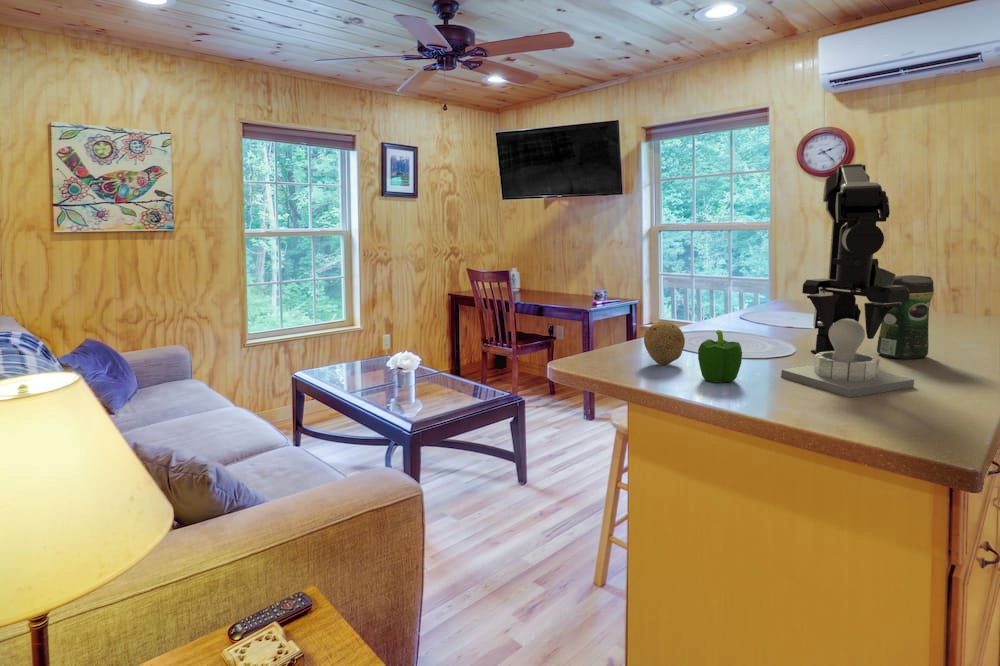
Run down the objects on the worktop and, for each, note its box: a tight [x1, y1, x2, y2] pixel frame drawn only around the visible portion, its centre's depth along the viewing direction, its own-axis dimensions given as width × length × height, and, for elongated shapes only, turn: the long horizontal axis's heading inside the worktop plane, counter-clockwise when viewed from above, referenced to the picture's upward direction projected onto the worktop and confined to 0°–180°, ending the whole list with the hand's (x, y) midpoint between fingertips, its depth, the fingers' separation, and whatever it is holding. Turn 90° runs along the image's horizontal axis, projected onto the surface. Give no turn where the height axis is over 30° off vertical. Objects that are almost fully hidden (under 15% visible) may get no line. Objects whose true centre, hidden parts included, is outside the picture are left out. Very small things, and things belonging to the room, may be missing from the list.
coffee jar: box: [876, 274, 934, 360], centre depth 135 cm, size 10×8×19 cm
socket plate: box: [780, 364, 915, 398], centre depth 116 cm, size 16×16×2 cm
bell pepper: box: [697, 329, 743, 383], centre depth 119 cm, size 8×8×10 cm
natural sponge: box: [643, 320, 686, 366], centre depth 133 cm, size 9×9×10 cm
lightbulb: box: [829, 319, 866, 362], centre depth 116 cm, size 6×6×11 cm
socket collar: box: [814, 351, 880, 382], centre depth 116 cm, size 10×10×4 cm
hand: (848, 334), depth 115 cm, fingers open, 9 cm apart
